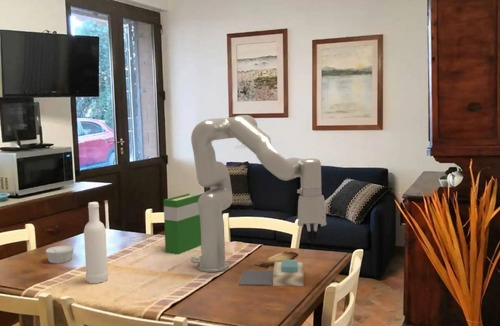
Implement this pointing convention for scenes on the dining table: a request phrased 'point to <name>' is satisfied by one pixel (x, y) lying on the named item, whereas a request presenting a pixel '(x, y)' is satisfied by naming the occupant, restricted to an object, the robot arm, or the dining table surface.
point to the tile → (289, 266)
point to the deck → (287, 276)
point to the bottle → (95, 247)
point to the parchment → (278, 258)
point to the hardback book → (182, 224)
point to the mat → (256, 277)
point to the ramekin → (59, 254)
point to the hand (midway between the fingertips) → (312, 241)
